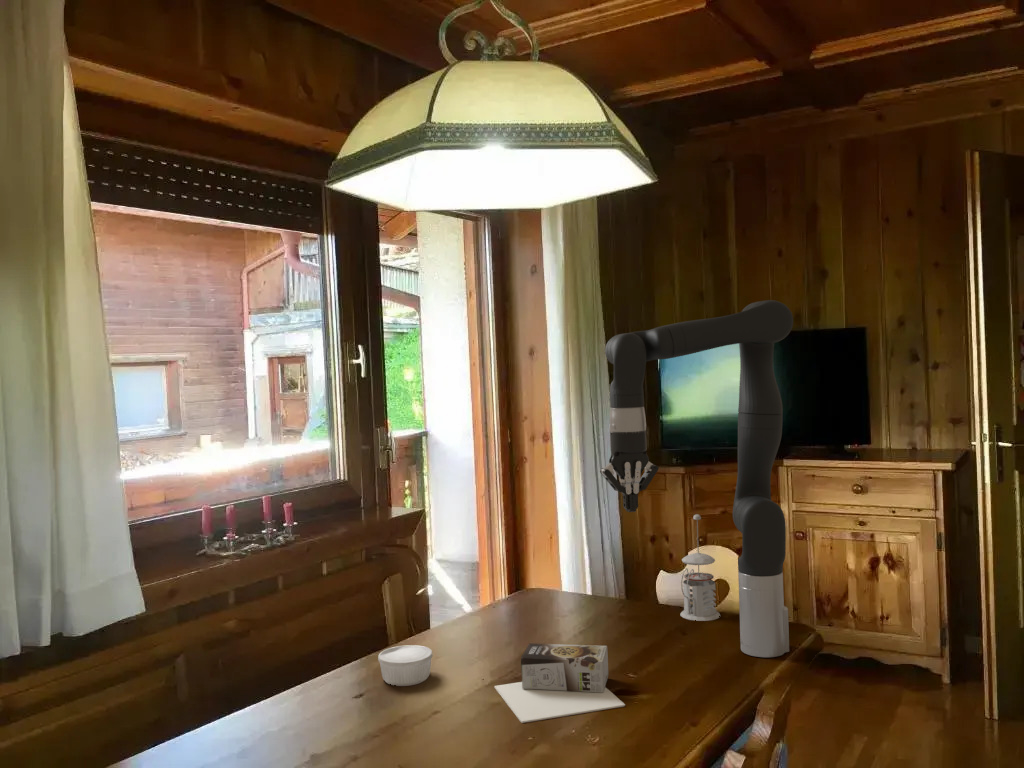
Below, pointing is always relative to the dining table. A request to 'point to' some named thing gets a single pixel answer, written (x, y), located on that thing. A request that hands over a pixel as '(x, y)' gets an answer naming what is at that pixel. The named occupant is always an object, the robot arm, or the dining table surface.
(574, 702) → the mat
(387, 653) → the ramekin
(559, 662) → the coffee box
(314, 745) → the dining table surface
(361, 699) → the dining table surface
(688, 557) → the french press
